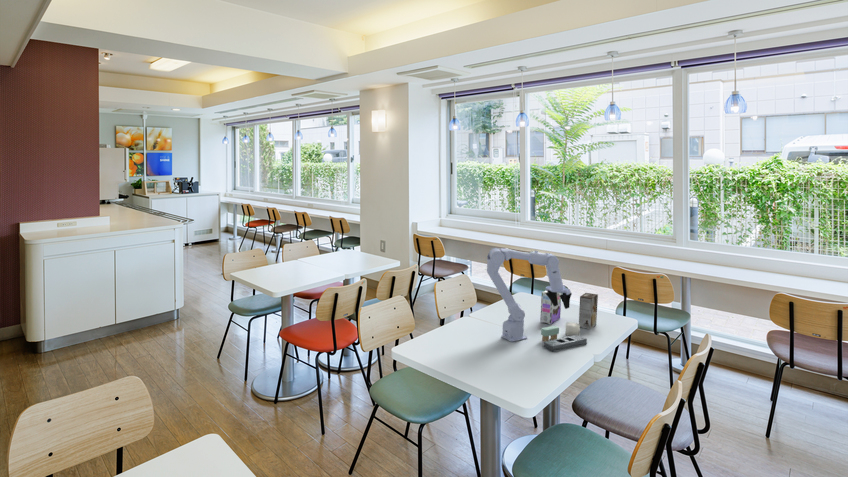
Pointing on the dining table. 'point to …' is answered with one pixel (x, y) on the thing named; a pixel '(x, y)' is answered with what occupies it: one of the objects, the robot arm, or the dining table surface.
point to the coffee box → (588, 310)
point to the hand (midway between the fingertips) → (561, 306)
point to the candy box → (549, 309)
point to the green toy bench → (549, 333)
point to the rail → (564, 343)
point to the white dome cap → (572, 329)
